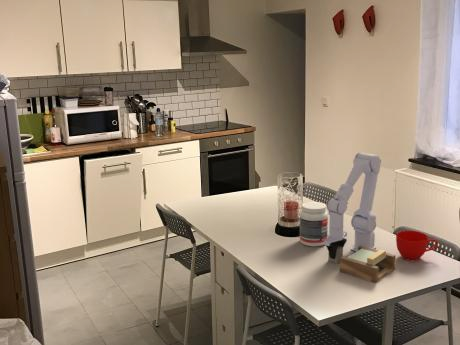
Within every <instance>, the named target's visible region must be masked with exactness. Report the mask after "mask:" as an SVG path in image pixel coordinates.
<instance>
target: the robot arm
mask: <svg viewBox="0 0 460 345" xmlns="http://www.w3.org/2000/svg"><path fill="white" fill-rule="evenodd" d="M352 164H353V166H352V168H351V171H350V173H349V174H348V177H347V178H346V181H345V182H344V183H341V185H340V186H339V188H338V189H337V191H336V193H335V195H334V196H333V197H332V198H331V199H329V200H328V202H327V204H326V208H327V209H326V211H328V212H327V213H328V216H329V224H328V227H329V233H327V240H325V244H324V246H325V247H326V249H327V250H328V252H327V253H329V256H330V258H332V259H335V257H336V250H337V247H338V246H340V247H343V248H344V246H345V245H346V244H347V241H348V240H347V238H345V237H347V236H348V232H347V231H344V214H345V212H346V211H347V209H348V204H349V202H348V201H349V199H350V198H351V196H352V195H353V192H354V187H355V185H356V183H357V182H358V180H359V179H360V177H361V176H362V174H363V173H364V175H365V176H364V179H363V185H362V192H361V198H360V202H359V203H360V204H359V208H358V209H356V210H355V211H354V212H353V215H352V218H351V219H350V220H351V221H350V224H351V227H352V228H353V230H354V246H353V247H350V250H351V251H353V252H357V251H358V247H359V246H363V247H367V248H371V249H374V250H376V249H377V246H375V242H376V241H375V240H376V239H375V238H376V234H375V229H376V227H377V215H375V213H374V212H373V210H372V209H373V205H374V199H375V194H376V188H377V182H378V177H379V174H380V171H381V170H380V169H381V164H382V160H381V158H380V156H379V155H377V154H371V153H365V152H361V151H358V152H357V153H356V154H355V156H354V158H353V160H352Z"/></svg>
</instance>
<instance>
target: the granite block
mask: <svg viewBox="0 0 460 345" xmlns="http://www.w3.org/2000/svg"><path fill="white" fill-rule="evenodd" d="M327 253H328V262H331V263H333V264H340V258H341V257H342V256H343V257H344V247H340V246H338V247H337V250H336V257H335V259H332V258H330V256H329V252H327Z"/></svg>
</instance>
